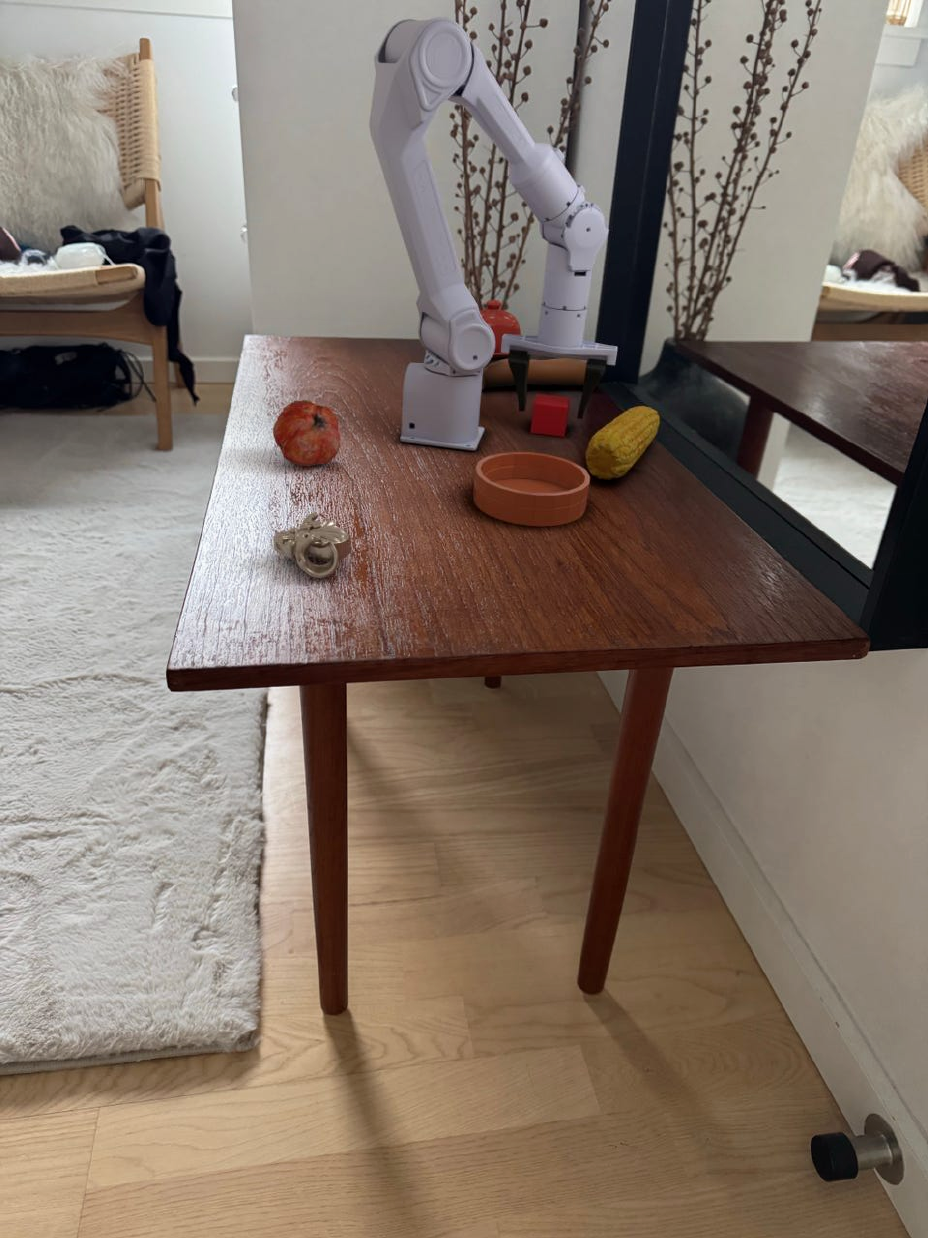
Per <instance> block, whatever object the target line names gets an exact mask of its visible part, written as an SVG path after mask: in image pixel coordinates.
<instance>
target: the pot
mask: <svg viewBox="0 0 928 1238" xmlns="http://www.w3.org/2000/svg"><path fill="white" fill-rule="evenodd" d="M590 482H591V476H590V474H589V473H588V471H587V469H585V468H584V467H582V466H581V465H579V464H577V463H576V462H574V461H571V460H568V459H565V458H563V457H561V456H560V457H559V456H555V455H551V454H548V453H540V452H533V451H508V452H506V451H505V452H499V453H495V454H491V455H487V456H485V457H484V458H482V459H480V460H479V461H477V464H476V465H475V468H474V479H473V488H472V489H473V490H472V494H473V496H472V497H473V502H474V505H475V506H476V507H477V508H478V509H479V510H480V511H481V512H483V514H486V515H488V516H490V517H492V518H494V519H497V520H500V521H503V522H506V523H510V524H514V525H519V526H527V527H556V526H563V525H567V524H570V523H573V522H575V521H577V520H579V519H580V518H582V516H583V515H584V514H585V511H586V508H587V501H588V495H589V489H590Z"/></svg>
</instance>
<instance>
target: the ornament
mask: <svg viewBox="0 0 928 1238" xmlns="http://www.w3.org/2000/svg"><path fill="white" fill-rule="evenodd" d="M318 518H319V513H318V512H317V511H314V512H311V513H310V514H308V515H307V516H306V517H305V518H304V519H303V520H302V522H301V524H300V525H299V529H297V528H296V527H293V528H290V529H289V530H288V531H286V530H285V529H282V530H280V531H277V532H276V533H275V535H273V538H272V540H273V541H272V542H273V550H275V551H276V552H277V553H278V554H280V555H284V556H285V557H286V558H287V559H289V560H293V559H295V561H296V563H297V566H298V567H299V568H300V570H301V571H303V572H304V573H306V574H307V575H308V576H310V577H312V578H315V579H325V578H328V577H330V576H332V575H333V574H334V573H335V571H336V570H337V569H339V568H340V562H341V561H342V560H344V559H345V558H347V557H348V556H349V554H350V551H351V537H350V534H349V532H348V531H347V530H345V529H344V528H343V527H340V526H339V525H336V523H335V522H334V521H332V520H331V519H330V518H327V517H326V518H325V519H324V520H323V522H321V521H320V520H318ZM308 557H313V558H315V559H317V560H321V561H323V562H326V563H324V564H317V563H315V562H312V561H311V560H310V559H309V558H308Z"/></svg>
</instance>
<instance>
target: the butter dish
mask: <svg viewBox="0 0 928 1238" xmlns="http://www.w3.org/2000/svg"><path fill="white" fill-rule="evenodd" d="M485 305H486V309H479V311H480V314H481V317H482V318H483V320H484V321H485V322H486V323H487V324H488V325H489V326H490V328H491V329H492V331H493V333H494V337H495V350H494V353H493V356H492V358H491V359H508V358H509V353H501V343H502V337H503V335H504V334H510V335H522V333H521V331H522V330H521V325H520V322H519V320H518V319H517V317H516V316H515V315H514V314H512V313H510V312H509V311H506V310H502V309H500V308H501V307H502V302H501V301H500V300H497V299H489V300H487V301H486V302H485Z"/></svg>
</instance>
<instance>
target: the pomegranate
mask: <svg viewBox="0 0 928 1238" xmlns="http://www.w3.org/2000/svg"><path fill="white" fill-rule="evenodd" d="M272 429H273V430H272V435H273V438H274V442H275V444H276V446H278V448H279V449H280V451H281V454H282V456H283V457H284V459H285V460H286V461H288V462H290V463H291V464H294V465H296V466H300V467H302V468H303V467H310V466H314V465H324V464H328V463H331V461H332V460H333V459H334V458H335V457H336V456H337V455H338V453H339V451H340V448H341V433H340V432H339V422H338V419H337V417H336V414H335V412H334V411H333V410H332V409H331V408H330V407H327V406H323V405H319V404H316V403H314V402H313V401H311V400H308V399H302V400H293V402H291V403H288V404H287V405H286V406H284V408H283V409H282V411H281V412H280V413H279V414H278V416H277V419H276V420H275V422H274V424H273V428H272Z"/></svg>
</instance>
